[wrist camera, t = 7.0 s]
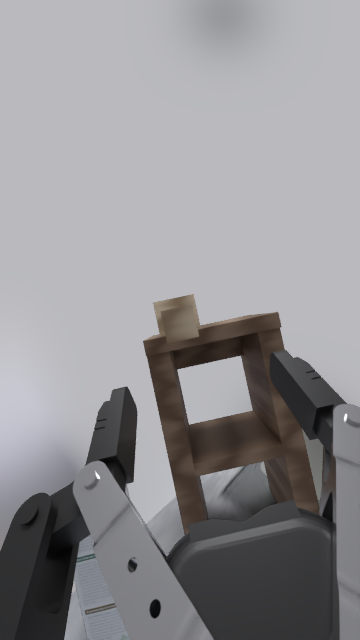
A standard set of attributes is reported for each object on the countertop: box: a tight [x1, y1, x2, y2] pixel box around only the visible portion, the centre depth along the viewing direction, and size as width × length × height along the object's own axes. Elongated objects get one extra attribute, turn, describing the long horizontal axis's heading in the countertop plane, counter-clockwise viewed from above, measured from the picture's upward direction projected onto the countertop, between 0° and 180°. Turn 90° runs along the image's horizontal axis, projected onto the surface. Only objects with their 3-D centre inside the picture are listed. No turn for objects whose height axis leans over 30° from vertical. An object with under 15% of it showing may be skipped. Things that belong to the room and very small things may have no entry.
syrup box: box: [74, 484, 130, 640], centre depth 26 cm, size 6×6×14 cm
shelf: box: [143, 312, 319, 535], centre depth 34 cm, size 18×12×32 cm, turn 91°
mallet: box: [153, 294, 201, 343], centre depth 27 cm, size 6×20×5 cm, turn 0°
